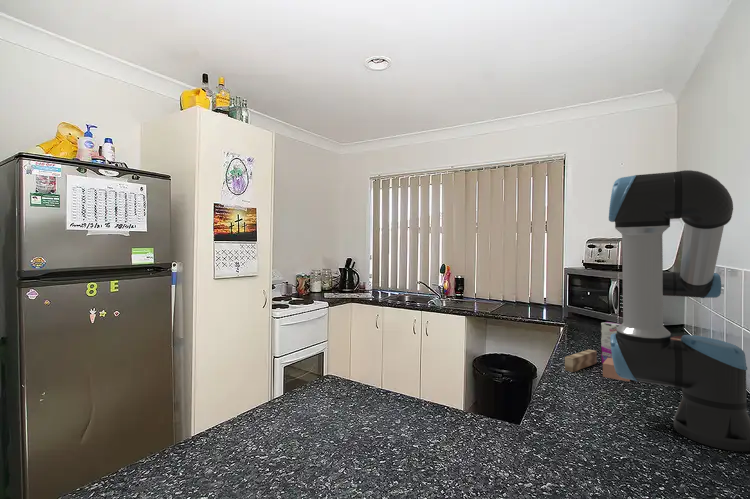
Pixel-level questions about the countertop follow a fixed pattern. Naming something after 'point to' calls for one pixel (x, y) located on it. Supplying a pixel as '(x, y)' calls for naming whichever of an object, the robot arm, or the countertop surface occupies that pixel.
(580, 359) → the board
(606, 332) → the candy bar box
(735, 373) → the robot arm
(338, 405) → the countertop surface
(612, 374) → the block
